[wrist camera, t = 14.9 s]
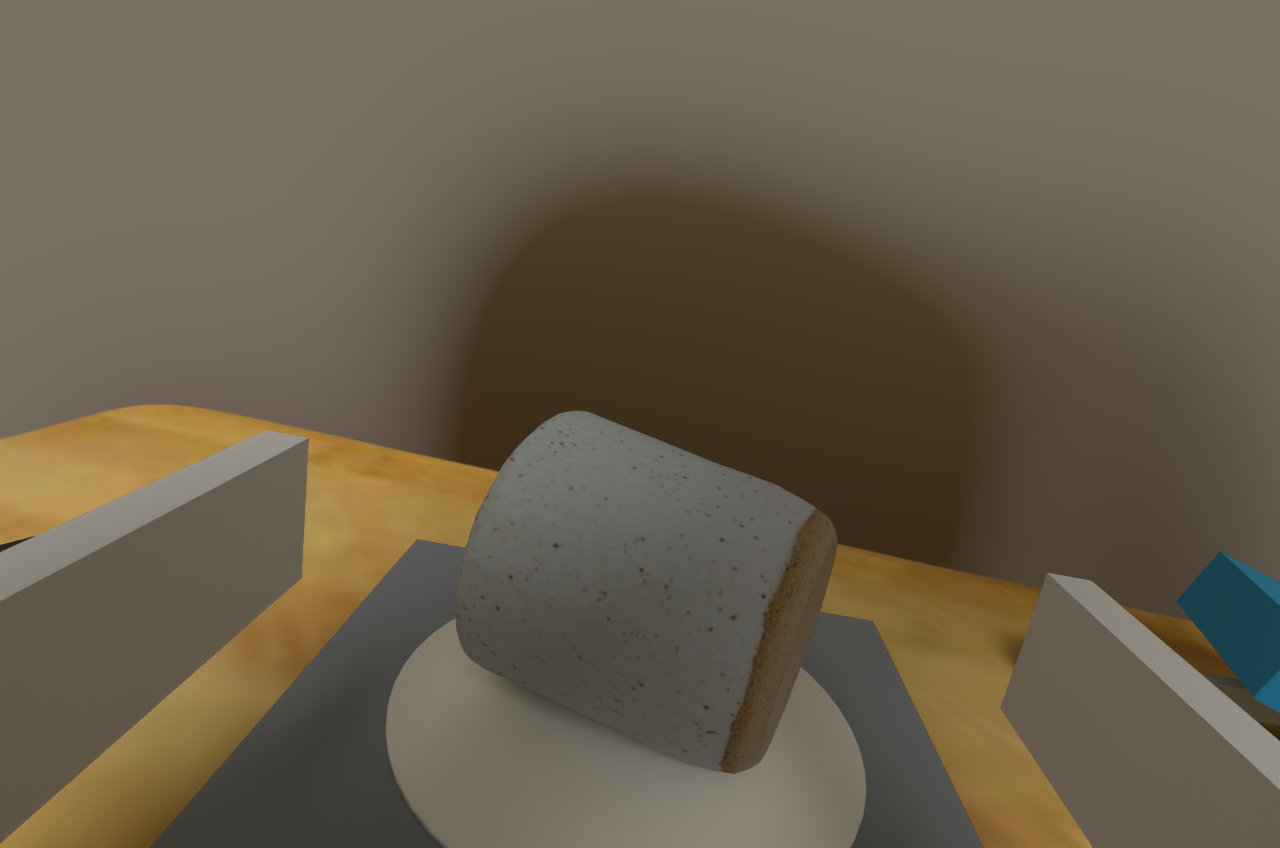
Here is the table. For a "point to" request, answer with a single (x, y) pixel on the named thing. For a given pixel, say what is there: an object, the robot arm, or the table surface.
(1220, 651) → the lever
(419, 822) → the mat
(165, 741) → the table surface
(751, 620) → the ceramic mug
